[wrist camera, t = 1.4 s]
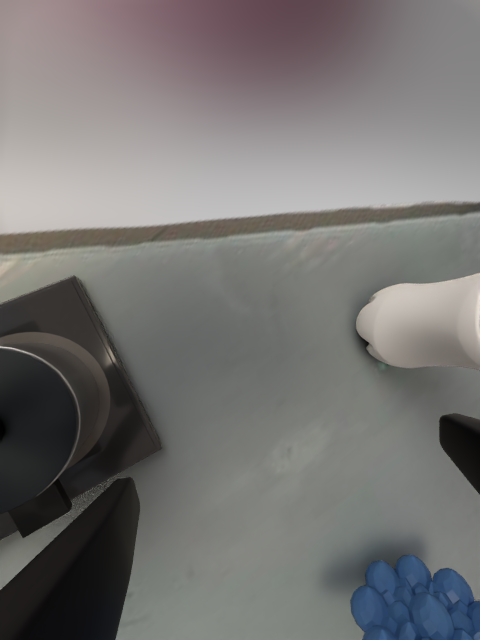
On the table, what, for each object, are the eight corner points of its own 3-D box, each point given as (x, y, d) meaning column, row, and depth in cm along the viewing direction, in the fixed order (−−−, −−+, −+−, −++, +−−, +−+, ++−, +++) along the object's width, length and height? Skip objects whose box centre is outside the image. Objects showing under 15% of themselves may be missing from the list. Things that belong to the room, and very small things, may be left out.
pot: (5, 519, 19) (-67, 605, 13) (-87, 355, 18) (-209, 366, 12) (131, 450, 21) (119, 496, 15) (53, 299, 20) (8, 285, 14)
